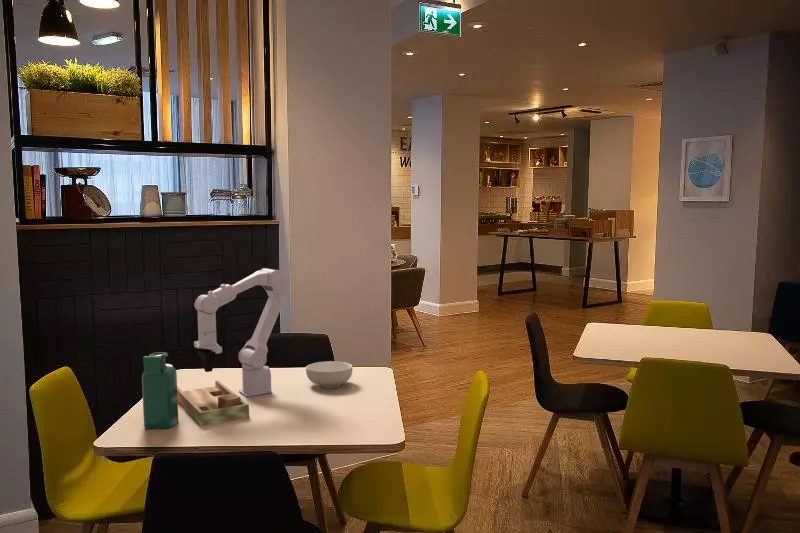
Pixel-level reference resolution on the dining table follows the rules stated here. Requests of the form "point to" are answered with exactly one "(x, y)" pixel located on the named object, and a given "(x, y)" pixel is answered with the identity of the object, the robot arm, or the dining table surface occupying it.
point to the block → (228, 401)
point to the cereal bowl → (329, 373)
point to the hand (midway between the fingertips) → (208, 371)
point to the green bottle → (159, 392)
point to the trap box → (211, 405)
